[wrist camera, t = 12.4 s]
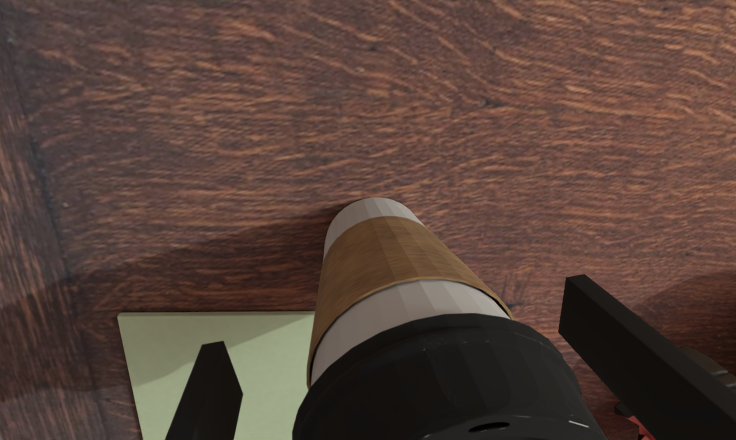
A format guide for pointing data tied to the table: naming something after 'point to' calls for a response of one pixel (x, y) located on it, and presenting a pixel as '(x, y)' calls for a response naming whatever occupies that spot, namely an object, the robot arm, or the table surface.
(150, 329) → the sage mat
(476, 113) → the table surface
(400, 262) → the coffee cup
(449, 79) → the table surface
